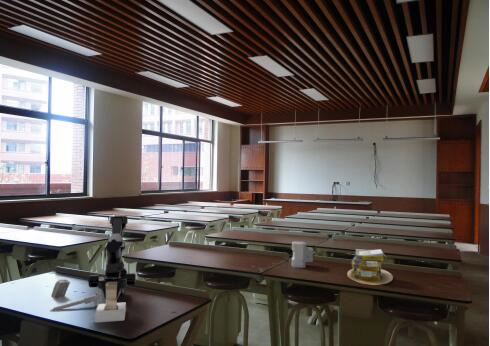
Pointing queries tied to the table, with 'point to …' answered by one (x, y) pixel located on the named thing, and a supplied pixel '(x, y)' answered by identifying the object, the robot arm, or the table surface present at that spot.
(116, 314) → the socket block
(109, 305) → the birch peg
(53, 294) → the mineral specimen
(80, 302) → the caliper
